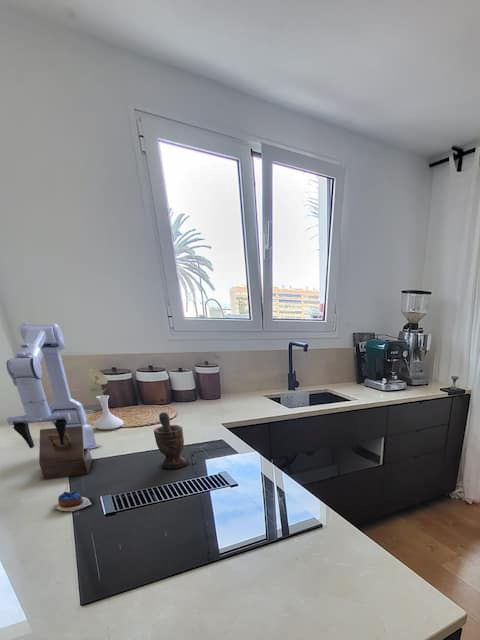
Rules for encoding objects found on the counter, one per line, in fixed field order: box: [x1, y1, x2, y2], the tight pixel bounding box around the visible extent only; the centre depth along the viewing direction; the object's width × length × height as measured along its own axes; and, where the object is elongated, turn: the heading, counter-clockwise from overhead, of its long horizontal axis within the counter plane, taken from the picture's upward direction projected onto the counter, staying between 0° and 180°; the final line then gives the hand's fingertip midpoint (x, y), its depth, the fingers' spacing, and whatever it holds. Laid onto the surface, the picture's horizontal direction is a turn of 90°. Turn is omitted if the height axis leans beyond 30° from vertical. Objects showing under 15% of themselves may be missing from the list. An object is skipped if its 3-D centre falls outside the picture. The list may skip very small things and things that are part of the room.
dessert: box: [56, 490, 92, 512], centre depth 106 cm, size 8×7×6 cm
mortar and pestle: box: [153, 411, 187, 470], centre depth 129 cm, size 12×9×20 cm
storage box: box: [39, 448, 93, 480], centre depth 128 cm, size 13×11×4 cm
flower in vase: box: [86, 368, 125, 430], centre depth 168 cm, size 13×11×25 cm
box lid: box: [38, 426, 84, 466], centre depth 123 cm, size 14×11×4 cm
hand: (47, 445), depth 119 cm, fingers open, 7 cm apart
